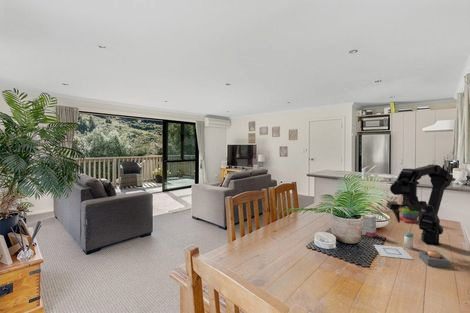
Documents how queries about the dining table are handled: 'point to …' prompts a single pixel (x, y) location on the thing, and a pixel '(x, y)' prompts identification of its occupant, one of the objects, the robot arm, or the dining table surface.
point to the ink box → (369, 225)
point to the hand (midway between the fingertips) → (409, 223)
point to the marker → (408, 240)
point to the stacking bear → (409, 216)
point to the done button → (433, 254)
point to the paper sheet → (392, 252)
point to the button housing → (434, 260)
